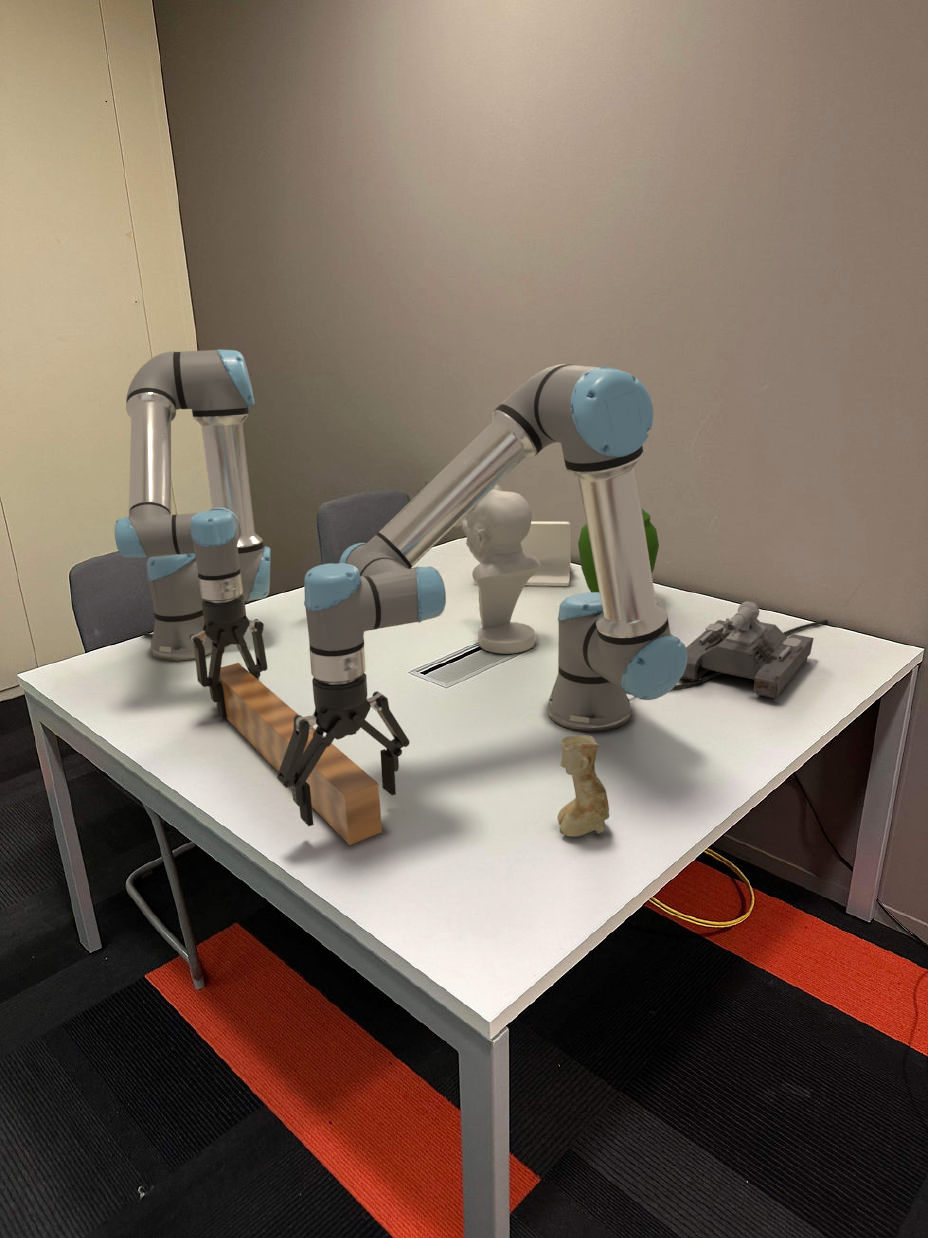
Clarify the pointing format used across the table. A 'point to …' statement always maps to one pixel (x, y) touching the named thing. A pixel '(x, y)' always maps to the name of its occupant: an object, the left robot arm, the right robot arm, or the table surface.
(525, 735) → the table surface
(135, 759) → the table surface
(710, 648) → the toy
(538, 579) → the tablet stand
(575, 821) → the sculpture
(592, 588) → the vase
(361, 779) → the bar
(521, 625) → the bust sculpture
